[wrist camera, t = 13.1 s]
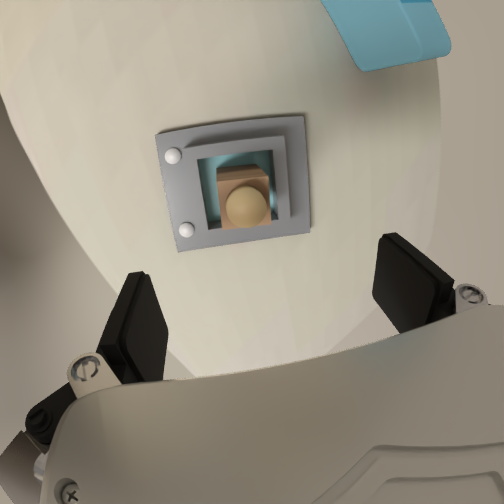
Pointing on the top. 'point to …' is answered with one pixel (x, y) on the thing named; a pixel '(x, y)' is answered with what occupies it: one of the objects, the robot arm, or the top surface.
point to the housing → (233, 154)
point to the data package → (389, 31)
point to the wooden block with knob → (243, 196)
